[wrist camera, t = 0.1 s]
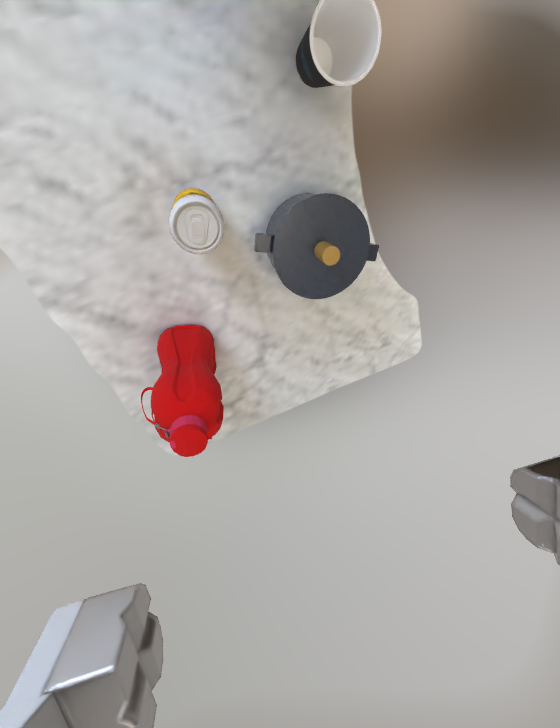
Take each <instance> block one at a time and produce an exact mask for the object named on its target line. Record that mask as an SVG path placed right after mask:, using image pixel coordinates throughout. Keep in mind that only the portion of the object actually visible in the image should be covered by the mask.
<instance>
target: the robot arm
mask: <svg viewBox="0 0 560 728" xmlns="http://www.w3.org/2000/svg"><path fill="white" fill-rule="evenodd" d="M510 479H511V487H512V489H513V490H514V491H515V492H516V493H517V494H516V496H515V498H514V500H513V502H512V504H511V507H512V517H513V519H514V521H515V523H516V525H517V527H518V529H519V531H520V532H521V533H522V534H523V535H524V536H525V538H526V539H527V540H529V541H530V542H531V543H532V544H533V545H535V546H536V547H537V548H540V549H543V550H545V551H548V552H551V553H554V555H555V558H556V560H557V563H558V564H559V565H560V455H558V456H555V457H553V458H551V459H548V460H544V461H541V462H538V463H535V464H531V465H528V466H525V467H522V468H518V469H515V470H513V472H512V475H511V478H510ZM150 600H151V598H150V595H149V593H148V590H147V588H146V585H144V584H142V583H140V584H136V585H133V586H129V587H125V588H122V589H118V590H115V591H111V592H107V593H103V594H100V595H96V596H93V597H89V598H88V599H84V600H80V601H77V602H73V603H70V604H66V605H62V606H60V607H59V608H58V609H57V610H55V611H54V612H53V614H52V615H51V617H50V619H49V621H48V623H47V625H46V627H45V629H44V631H43V633H42V635H41V637H40V638H39V641H38V642H37V644H36V646H35V648H34V650H33V652H32V654H31V656H30V658H29V660H28V662H27V664H26V666H25V668H24V669H23V671H22V673H21V675H20V677H19V679H18V681H17V683H16V685H15V687H14V689H13V691H12V693H11V695H10V696H9V698H8V700H7V703H6V704H5V706H4V708H3V709H0V728H153V727H154V720H155V714H156V707H157V705H156V702H155V699H154V697H153V694H152V690H153V688H154V686H155V685H156V683H157V682H158V680H159V679H160V677H161V672H162V664H163V638H162V632H161V627H160V624H159V620H158V617H157V616H155V615H153V614H152V613H150V612H148V610H149V605H150Z"/></svg>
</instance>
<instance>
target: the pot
mask: <svg viewBox="0 0 560 728" xmlns="http://www.w3.org/2000/svg"><path fill="white" fill-rule="evenodd" d="M313 195H316V194H313V193H305V194H300V195H296V196H294V197H291V198H290V199H288V200H286V201H285V202H284V203H282V204H281V205H280V206H279V207H278V208H277V210H276V211H275V212H274V214H273V215H272V217H271V219H270V221H269V224H268V227H267V231H266V234H263V233H256V237H255V249H254V250H255V251H256V252H266V253H267V254H268V257H269V259H270V261H271V263H272V265H273V267H274V262H273V255H272V249H273V240H274V236H275V233H276V230H277V228H278V225H279V224H280V222H281V220H282V218H283V217H284V216H285V214H286V213H287V212H288V211H289V210H290V209H291V208H292V207H293V206H294V205H295V204H297V203H298V202H300V201H301V200H303V199H305V198H307V197H310V196H313ZM378 248H379V245H377V244H370V245H369V252H368V256H367V261H375V260H376V256H377V252H378ZM274 268H275V267H274Z"/></svg>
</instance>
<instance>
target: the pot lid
mask: <svg viewBox="0 0 560 728" xmlns="http://www.w3.org/2000/svg"><path fill="white" fill-rule="evenodd" d="M369 245H370V235H369V229H368V225H367V222H366V220H365V217H364V215H363V214H362V212H361V211H360V209H359V208H358V207H357V206H356V205H355V204H354V203H352V202H351V201H350V200H348V199H346V198H344V197H342V196H339V195H335V194H326V193H324V194H316V195H313V196H310V197H307V198H305V199H303V200H301V201H300V202H298V203H297V204H295V205H294V206H293V207H292V208H291V209H290V210H289V211H288V212H287V213H286V214H285V216H284V217H283V218H282V220H281V222H280V224H279V225H278V228H277V230H276V233H275V236H274V240H273V249H272V255H273V262H274V267H275V270H276V272H277V274H278V276H279V278H280V279H281V281H282V282H283V284H284V285H285V286H286V287H287V288H288V289H289V290H291V291H292V292H294V293H295V294H297V295H299V296H302V297H305V298H310V299H322V298H327V297H331V296H333V295H336V294H338V293H339V292H341V291H343V290H344V289H346V288H347V287H348V286H349V285H350V284H352V283H353V281H354V280H355V279H356V278H357V277H358V275H359V274H360V272H361V271H362V269H363V267H364V265H365V262H366V260H367V256H368V252H369Z"/></svg>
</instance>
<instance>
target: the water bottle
mask: <svg viewBox="0 0 560 728" xmlns="http://www.w3.org/2000/svg"><path fill="white" fill-rule="evenodd" d="M157 352H158V355H159V359H160V363H161V367H162V374H161V376H160V377H159V379H158V380H157V382H156V383H155V385H154V387H153V388H152V387H148V388H145V389H144V390H143V392H142V394H141V403H142V396H143V394H144V392H145V391H147V390H152V395H151V409H152V418H153V413H154V415H155V416H154V417H155V421H154V419H153V421H154V422H153V421H151V420H150V419H148V418H147V416H146V415H145V417H146V419H147V420H148V421H149V422H151V423H152V424H154V425H155V428H156V430H157V432H158V433H159V435H160V437H161V438H163V439H164V440H166V441H168V442H170V446H171V448H172V449H173V451H174V452H175V453H177V454H179V455H180V456H184V457H189V456H195V455H197V454H199V453H201V452H202V451H203V450H204V449H205V448H206V445H207V442H208V439H212V436H214V435H215V434H216V433H217V432H218V431H219V429H220V427H221V424H222V420H223V405H222V402H221V400H222V393H221V387H220V384H219V383H218V381H217V379H216V378H215V376H214V374H215V371H216V360H215V347H214V338H213V336H212V334H211V333H210V331H209V330H207V329H206V328H204V327H203V326H198V325H185V326H175V327H172V328H169V329H166V331H165V332H164V333H163V334H162V335H161V336H160V338H159V340H158V346H157ZM142 408H143V405H142ZM143 411H144V409H143ZM144 414H145V412H144Z"/></svg>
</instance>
